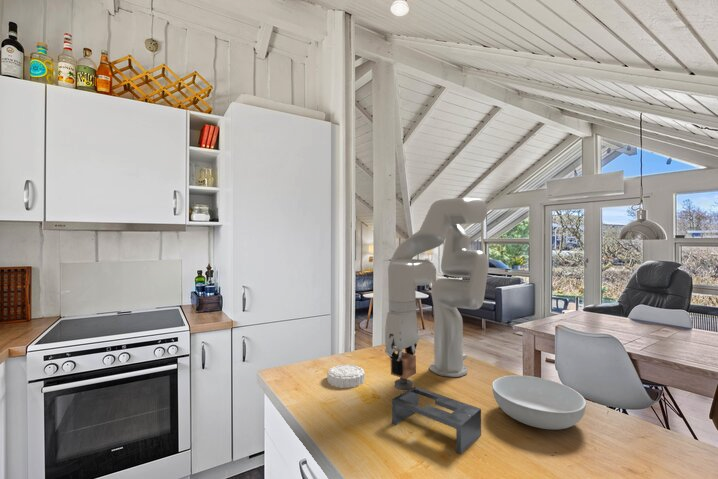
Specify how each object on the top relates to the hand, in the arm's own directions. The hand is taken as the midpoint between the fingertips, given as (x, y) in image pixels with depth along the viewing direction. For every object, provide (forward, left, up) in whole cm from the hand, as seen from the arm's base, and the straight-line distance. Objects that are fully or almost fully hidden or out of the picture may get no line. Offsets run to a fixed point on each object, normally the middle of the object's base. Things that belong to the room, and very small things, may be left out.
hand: (403, 370), depth 96 cm
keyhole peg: (0, 0, -5) cm, 5 cm away
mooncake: (+1, -22, -9) cm, 24 cm away
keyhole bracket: (+7, +14, -8) cm, 18 cm away
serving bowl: (-15, +30, -9) cm, 35 cm away
